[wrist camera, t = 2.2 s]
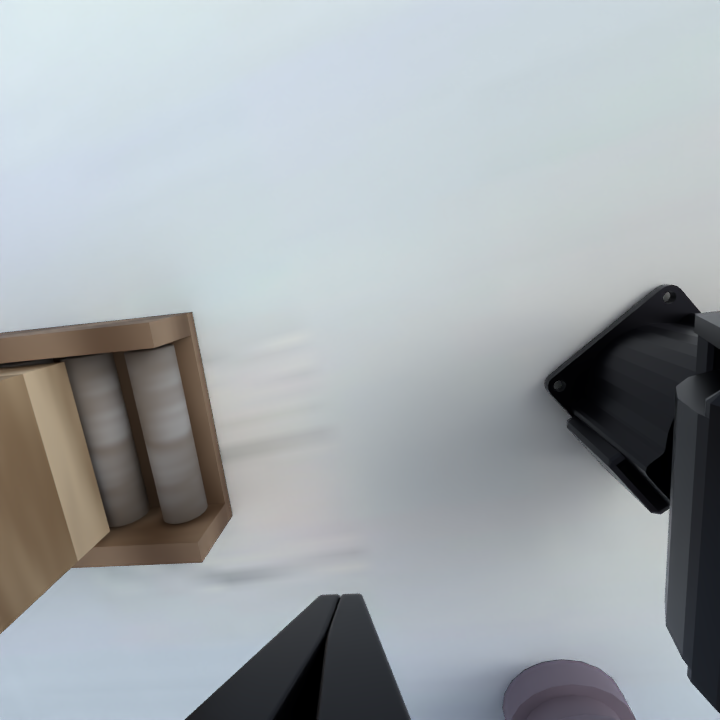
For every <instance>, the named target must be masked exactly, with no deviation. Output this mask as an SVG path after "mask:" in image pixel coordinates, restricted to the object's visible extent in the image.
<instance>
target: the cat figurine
mask: <svg viewBox="0 0 720 720" xmlns="http://www.w3.org/2000/svg"><path fill="white" fill-rule="evenodd" d="M502 708H503V713H504V717H505V720H636V719H635V717H634V715H633V713H632V711H631V709H630V707H629V705H628V704H627V702H626V700H625V698H624V696H623V694H622V692H621V691H620V689H619V688H618V686H617V685H616V683H615V682H614V680H613V679H612V678H611V677H610V676H608V675H607V674H606V673H604V672H603V671H602V670H600V669H599V668H597V667H594V666H591V665H589V664H586V663H583V662H580V661H570V660H555V661H549V662H542V663H540V664H537V665H535V666H533V667H530V668H528V669H526V670H524V671H523V672H522V673H521V674H520V675H518V676H517V677H516V678H515V679H514V680H512V682H511V684H510V685H509V687H508V689H507V690H506V692H505V694H504V701H503V707H502Z"/></svg>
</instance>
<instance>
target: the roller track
mask: <svg viewBox="0 0 720 720" xmlns="http://www.w3.org/2000/svg"><path fill="white" fill-rule="evenodd" d="M57 362H64V363H65V367H66V370H67V374H68V378H69V381H70V385H71V389H72V392H73V396H74V400H75V403H76V407H77V411H78V415H79V418H80V422H81V426H82V429H83V433H84V437H85V440H86V444H87V448H88V451H89V455H90V459H91V463H92V466H93V470H94V474H95V477H96V481H97V485H98V488H99V492H100V496H101V499H102V503H103V507H104V510H105V514H106V518H107V522H108V525H109V529H110V532H109V533H108V534H107V535H106V536H104V537H103V538H102V539H101V540H100V541H99V542H98V543H97V544H96V545H95V546H94V547H93V548H92V549H91V550H90V551H88V552H87V553H86V554H85V555H84V556H83V557H82V558H81V559H80V560H79V561H78V562H77V563H76V564H75V565H74V566H72V567H71V568H83V567H106V566H130V565H154V564H177V563H201V562H203V560H204V559H205V557H206V556H207V554H208V553H209V551H210V550H211V548H212V546H213V545H214V543H215V542H216V540H217V539H218V537H219V536H220V534H221V533H222V531H223V529H224V528H225V526H226V525H227V523H228V522H229V520H230V519H231V517H232V511H231V506H230V501H229V496H228V491H227V486H226V481H225V476H224V471H223V466H222V461H221V455H220V450H219V445H218V440H217V435H216V430H215V425H214V420H213V415H212V410H211V405H210V400H209V395H208V390H207V385H206V380H205V375H204V370H203V365H202V360H201V355H200V350H199V345H198V340H197V335H196V330H195V324H194V319H193V314H192V312H189V313H180V314H171V315H162V316H152V317H143V318H134V319H125V320H116V321H106V322H97V323H88V324H79V325H70V326H60V327H51V328H42V329H33V330H23V331H14V332H5V333H0V368H7V367H17V366H27V365H37V364H47V363H57Z"/></svg>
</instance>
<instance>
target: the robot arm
mask: <svg viewBox="0 0 720 720" xmlns="http://www.w3.org/2000/svg"><path fill="white" fill-rule="evenodd" d="M666 292H669V293H670V299H669V300H668V301H667V302H664V300H663V296H664V294H665V293H666ZM557 381H562V386H561V387H560V388H558V389H554V384H555V382H557ZM545 388H546V390H547V391H548V392H549V394H550V395H551V396H552V397H553V398H554V399H555V400H556V401H557V402H558V403H559V404H560V405H561V406H562V407H563V409H564V410H565V411H566V412H567V413H568V414H569V415H570V416H571V417H572V418H570V419H569V420H568V421H567V428H568V429H569V430H570V431H571V432H572V433H573V435H574V436H575V437H576V438H577V439H578V440H579V441H580V442H581V443H582V444H583V445H584V446H585V447H586V448H587V449H588V451H589V452H590V453H591V454H592V455H593V456H594V457H595V458H596V459H597V460H598V461H599V462H600V463H601V464H602V465H603V466H604V467H605V468H606V469H607V470H608V471H609V472H610V473H611V474H612V475H613V476H614V477H615V478H616V479H617V480H618V481H619V482H620V483H621V484H622V485H623V486H624V487H625V488H626V489H627V490H628V491H629V492H630V493H631V494H632V495H633V496H634V497H635V498H637V499H638V500H639V501H640V502H641V503H642V504H643V505H644V506H645V507H646V508H647V509H648V510H649V511H650V512H651V513H656V514H662V513H664V512H665V511H667V510H668V509H669V508H670V509H669V529H668V549H667V568H666V588H665V615H666V627H667V629H668V631H669V633H670V635H671V637H672V639H673V641H674V643H675V645H676V647H677V649H678V651H679V653H680V655H681V657H682V659H683V660H684V661H685V663H686V664H687V665H688V669H687V676H688V678H689V679H690V681H691V683H692V684H693V685H694V686H695V687H696V688H697V689H698V690H699V691H700V693H701V694H702V695H703V696H704V697H705V698H706V699H707V700H708V701H709V702H710V704H711V705H712V706H713V707H714V708H715V709H716V710H717V711H718V712H719V713H720V311H717V312H706V313H701V312H700V311H699V310H698V309H697V308H696V306H695V305H694V304H693V303H692V302H691V300H690V299H689V298H688V297H687V296H686V295H685V293H684V292H683V291H682V290H681V289H680V288H679V287H677V286H675V285H660V286H659V287H657V288H655V289H654V290H653V291H652V292H651V293H649V294H648V295H647V296H646V297H644V298H643V299H642V300H641V301H640V302H638V303H637V304H636V305H635V306H633V307H632V308H631V309H630V310H629V311H627V312H626V313H625V314H624V315H622V316H621V317H620V318H619V319H618V320H616V321H615V322H614V323H613V324H611V325H610V326H609V327H608V328H607V329H605V330H604V331H603V332H602V333H600V334H599V335H598V336H597V337H596V338H594V339H593V340H592V341H591V342H589V343H588V344H587V345H586V346H585V347H583V348H582V349H581V350H580V351H578V352H577V353H576V354H575V355H574V356H572V357H571V358H570V359H569V360H567V361H566V362H565V363H564V364H563V365H561V366H560V367H559V368H558V369H556V370H555V371H554V372H553V373H552V374H550V375H549V376H548V377H547V378H546V380H545ZM185 720H411V718H410V716H409V713H408V711H407V708H406V706H405V703H404V701H403V698H402V696H401V693H400V690H399V688H398V685H397V683H396V680H395V678H394V675H393V673H392V670H391V667H390V665H389V662H388V660H387V657H386V655H385V652H384V650H383V647H382V645H381V642H380V639H379V637H378V634H377V632H376V629H375V627H374V624H373V622H372V619H371V617H370V614H369V611H368V609H367V606H366V604H365V601H364V599H363V596H362V595H361V594H343V595H342V596H341V597H340V595H338V594H332V595H321V596H319V597H318V598H316V599H315V600H314V601H313V602H312V603H311V604H310V605H309V606H308V607H307V608H306V609H305V610H303V611H302V612H301V613H300V614H299V615H298V616H297V617H296V618H295V619H294V620H293V621H291V622H290V623H289V624H288V625H287V626H286V627H285V628H284V629H283V630H282V631H281V632H279V633H278V634H277V635H276V636H275V637H274V638H273V639H272V640H271V641H270V642H269V643H268V644H266V645H265V646H264V647H263V648H262V649H261V650H260V651H259V652H258V653H257V654H256V655H254V656H253V657H252V658H251V659H250V660H249V661H248V662H247V663H246V664H245V665H244V666H243V667H241V668H240V669H239V670H238V671H237V672H236V673H235V674H234V675H233V676H232V677H231V678H229V679H228V680H227V681H226V682H225V683H224V684H223V685H222V686H221V687H220V688H219V689H217V690H216V691H215V692H214V693H213V694H212V695H211V696H210V697H209V698H208V699H207V700H206V701H204V702H203V703H202V704H201V705H200V706H199V707H198V708H197V709H196V710H195V711H194V712H192V713H191V714H190V715H189V716H188V717H187V718H186V719H185Z"/></svg>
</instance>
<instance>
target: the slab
mask: <svg viewBox="0 0 720 720" xmlns="http://www.w3.org/2000/svg"><path fill="white" fill-rule="evenodd" d="M109 532H110V529H109V525H108V522H107V518H106V514H105V510H104V507H103V503H102V499H101V496H100V492H99V488H98V485H97V481H96V477H95V474H94V470H93V466H92V463H91V459H90V455H89V451H88V448H87V444H86V440H85V437H84V433H83V429H82V426H81V422H80V418H79V415H78V411H77V407H76V403H75V400H74V396H73V392H72V389H71V385H70V381H69V378H68V374H67V370H66V367H65V363H64V362H57V363H47V364H37V365H27V366H17V367H7V368H0V634H1V633H2V632H3V631H4V630H5V629H6V628H7V627H8V626H9V625H11V624H12V623H13V622H14V621H15V620H16V619H17V618H18V617H19V616H20V615H21V614H22V613H23V612H24V611H25V610H27V609H28V608H29V607H30V606H31V605H32V604H33V603H34V602H35V601H36V600H37V599H38V598H39V597H40V596H41V595H43V594H44V593H45V592H46V591H47V590H48V589H49V588H50V587H51V586H52V585H53V584H54V583H55V582H56V581H57V580H59V579H60V578H61V577H62V576H63V575H64V574H65V573H66V572H67V571H68V570H69V569H70V568H71V567H72V566H74V565H75V564H76V563H77V562H78V561H79V560H80V559H81V558H82V557H83V556H84V555H85V554H86V553H87V552H88V551H90V550H91V549H92V548H93V547H94V546H95V545H96V544H97V543H98V542H99V541H100V540H101V539H102V538H103V537H104V536H106V535H107V534H108V533H109Z"/></svg>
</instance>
